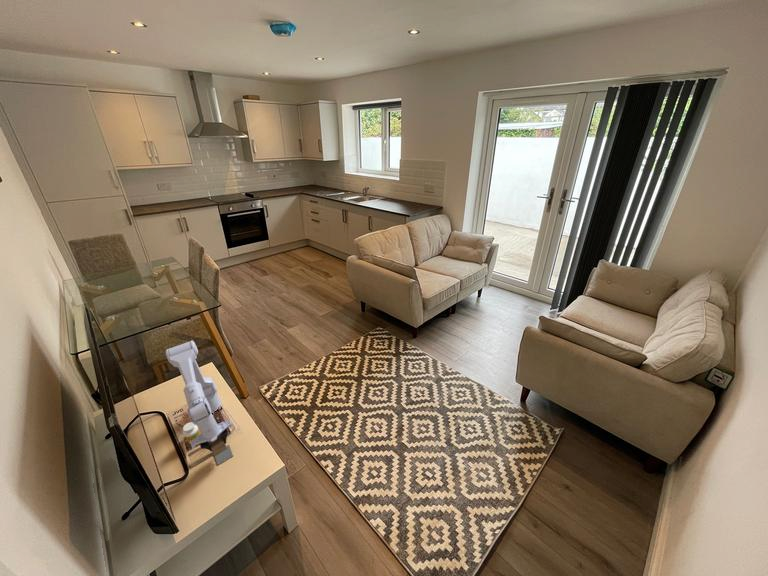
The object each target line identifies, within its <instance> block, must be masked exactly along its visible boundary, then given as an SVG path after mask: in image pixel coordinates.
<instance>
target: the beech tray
mask: <svg viewBox="0 0 768 576" xmlns="http://www.w3.org/2000/svg"><path fill="white" fill-rule="evenodd" d="M184 439H186V437H185V436H184V435H183V436H182V437H181V441H182V446H183V449H184V454H185V458H186V462H187V466H188V468H189V469H191V468H192V466H193V467H194V466H197V465H198V464H199V463H201V462H202V461H205V460H206V459H208V458H210V457H212V456H214V453H213V451H212V452H211V451H210V452H208V453H207V454H205V455H203V456H201V457H200V458H197V459H196V460H194V461H192V462H191V460H189V459H190V457H189V456H188V455H189V453H188V454H187V451H188V448H187V449H186V447H187V444H186V445H185V443H186V441H185V440H184ZM186 440H187V439H186Z"/></svg>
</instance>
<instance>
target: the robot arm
mask: <svg viewBox="0 0 768 576" xmlns="http://www.w3.org/2000/svg"><path fill="white" fill-rule="evenodd" d="M198 354H199V350H198V347H197V345H196V343H195V341H194V340H190V341H187V342H184V343H182V344H178V345H176V346H173V347H170V348H167V349H166V350H165V355H166V358H167V361H168V363H170V364H171V365H172V366H173V367H175V368H178V370H179V372H180V375H181V378H182V379H183V382H184V384H185V387H184V388H183V394H184V397H185V399H186V400H185V401H186V404H187V407H188V408H187V415H188V417H189V420H191V421H190V422H192V423H193V424H194V425H197V427H198V428H199V430H200V432H201V434H200V435H198V436H197V437H196V438H195V439H193V440H192V441H190V444H191V445H190V444H189V445H190V446H191V448H192V449H194V448H196V447H197V445H199V446H200V448H201V449H205V450H207V451H210V452H212V449H211V447H210V444H209V441H211V442H213V441H215V440H216V439H217V436H218V435H220V434H221V437H222V438H223V441H224V443H225V444H227V443H228V442H227V437H228V434H229V432H228V429H227V428H232V427H233V423H232V421H231V420H230V419H229V420H227V421H224V422H220V423H218V422H217V421H216V419H215V417H214V415H213V414H215V413H214V411H216V410H217V409H218V407H219V406H220V405H221V406H222V408H223V409H224V406H223V404H222V401H221V399H220V397H219V395H218V394H217V393H218V392H217V391H218V389H217V384H216V383H215V380H213V378H212V376H204V374H203V373H202V370H201V369H200V367H199V365H198V362H197V360H196V359H197V358H198V357H197V356H198ZM212 413H213V414H212Z"/></svg>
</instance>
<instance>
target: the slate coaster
mask: <svg viewBox="0 0 768 576" xmlns="http://www.w3.org/2000/svg"><path fill="white" fill-rule="evenodd" d="M226 447H227V449H226V450H225V451H223V452H221V453H220V454H218V455H216V456H215V454H213V456H214V458H215V461H216V465H217V466H220V465H221V464H223V463H224V462H225V461H227V460H229V459H231V458H232V457H234V455H233V452H232V449H231V446H230V444H227V445H226Z"/></svg>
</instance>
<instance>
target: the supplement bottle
mask: <svg viewBox="0 0 768 576" xmlns="http://www.w3.org/2000/svg"><path fill="white" fill-rule="evenodd" d="M182 430H183V437H184V436H185V437H186V441H187V443H188V444H189V445H190V441H192V440H193V439H195V438H196V437H197V436H198V435H200V434H201V432H200V430H199V428H198V427H197V425H195V424H194V423H193V422H192V421H190V422H187V423H185V424H184V426H183V427H182Z"/></svg>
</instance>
